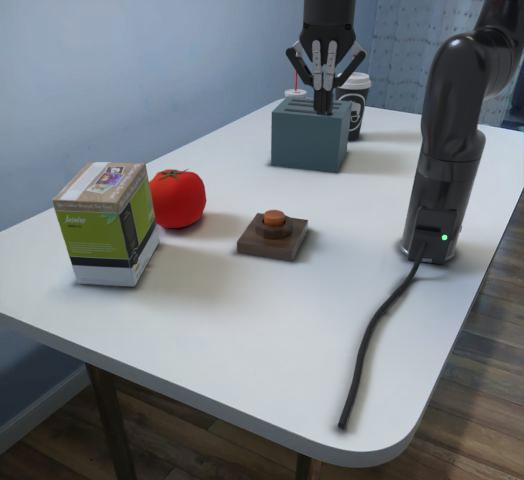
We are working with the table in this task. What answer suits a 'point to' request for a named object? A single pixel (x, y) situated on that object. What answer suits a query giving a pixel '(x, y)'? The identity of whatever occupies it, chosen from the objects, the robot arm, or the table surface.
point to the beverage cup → (296, 91)
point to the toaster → (309, 135)
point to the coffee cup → (354, 100)
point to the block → (273, 238)
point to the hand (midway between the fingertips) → (322, 113)
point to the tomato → (177, 198)
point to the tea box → (108, 223)
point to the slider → (332, 106)
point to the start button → (274, 218)
